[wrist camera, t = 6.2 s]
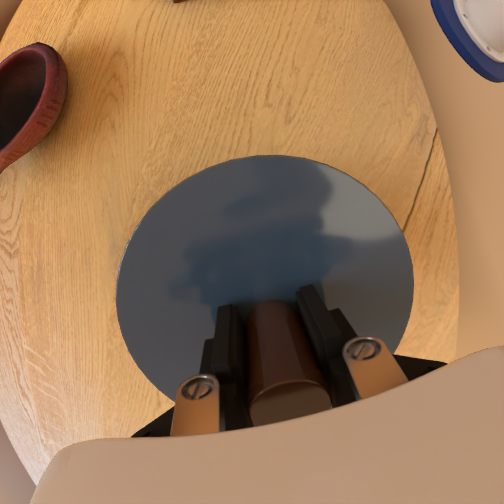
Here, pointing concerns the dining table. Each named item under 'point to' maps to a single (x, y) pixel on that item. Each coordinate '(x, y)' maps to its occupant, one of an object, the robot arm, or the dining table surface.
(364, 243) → the lid
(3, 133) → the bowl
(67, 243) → the dining table surface
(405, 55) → the dining table surface
